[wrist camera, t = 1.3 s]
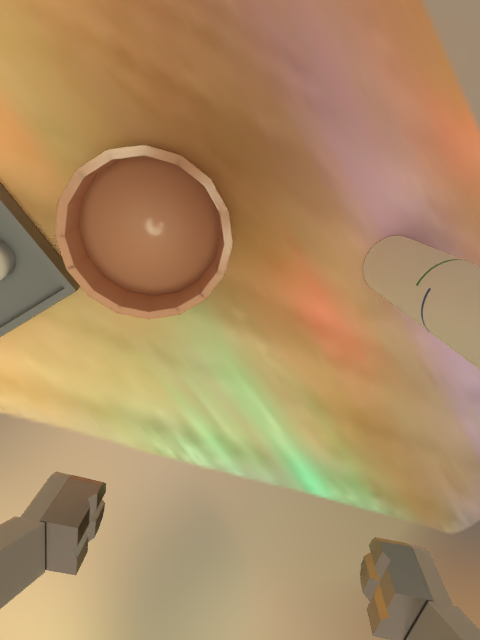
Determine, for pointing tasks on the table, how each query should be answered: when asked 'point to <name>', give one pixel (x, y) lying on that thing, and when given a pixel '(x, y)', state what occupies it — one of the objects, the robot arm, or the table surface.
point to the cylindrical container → (429, 290)
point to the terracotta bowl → (143, 231)
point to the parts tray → (28, 268)
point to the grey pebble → (6, 260)
